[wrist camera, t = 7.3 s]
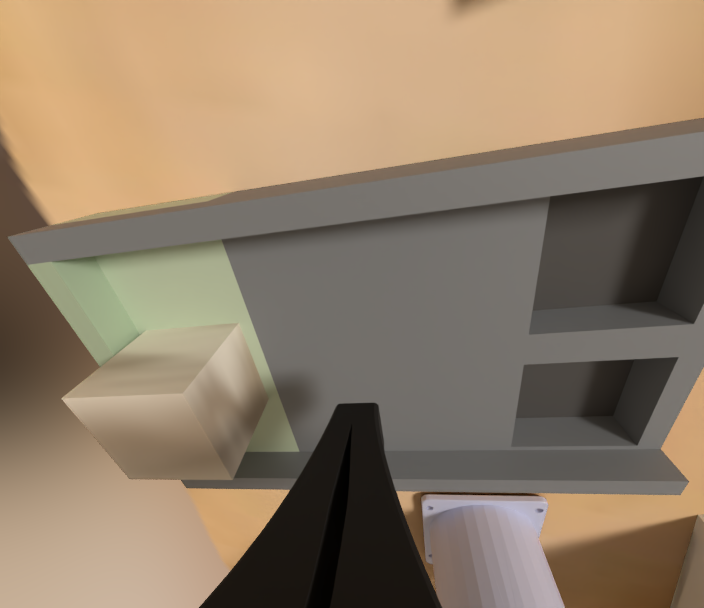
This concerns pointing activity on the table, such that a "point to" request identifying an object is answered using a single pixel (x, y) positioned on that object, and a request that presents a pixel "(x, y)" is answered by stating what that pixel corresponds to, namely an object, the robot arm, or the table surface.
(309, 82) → the table surface
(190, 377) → the cream block
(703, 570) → the white rack
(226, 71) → the table surface
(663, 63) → the table surface
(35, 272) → the box
